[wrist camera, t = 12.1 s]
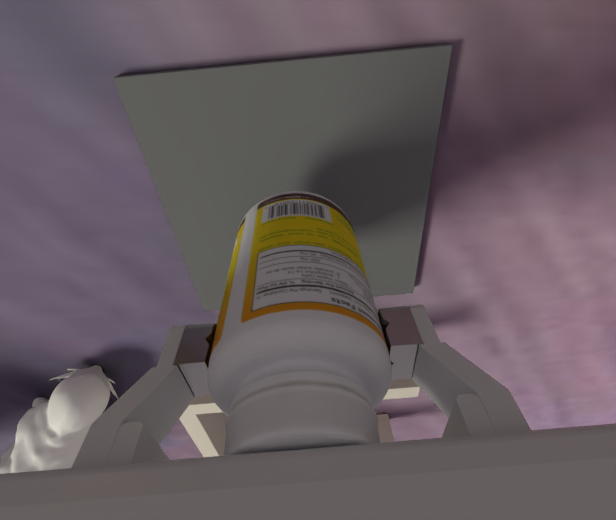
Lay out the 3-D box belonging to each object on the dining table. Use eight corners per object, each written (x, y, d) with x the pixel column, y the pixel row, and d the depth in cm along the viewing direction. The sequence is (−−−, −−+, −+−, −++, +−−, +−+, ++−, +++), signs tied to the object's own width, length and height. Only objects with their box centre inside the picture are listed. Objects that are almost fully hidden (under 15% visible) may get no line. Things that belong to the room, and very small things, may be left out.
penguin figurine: (-50, 531, 24) (-13, 448, 19) (23, 416, 31) (64, 334, 26) (51, 542, 26) (106, 471, 21) (97, 433, 33) (146, 361, 28)
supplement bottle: (287, 296, 19) (285, 523, 11) (213, 229, 16) (133, 470, 8) (375, 245, 17) (453, 474, 9) (308, 158, 14) (333, 380, 6)
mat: (447, 43, 14) (452, 45, 14) (411, 287, 23) (413, 292, 22) (117, 75, 14) (112, 77, 14) (205, 305, 23) (203, 310, 23)
